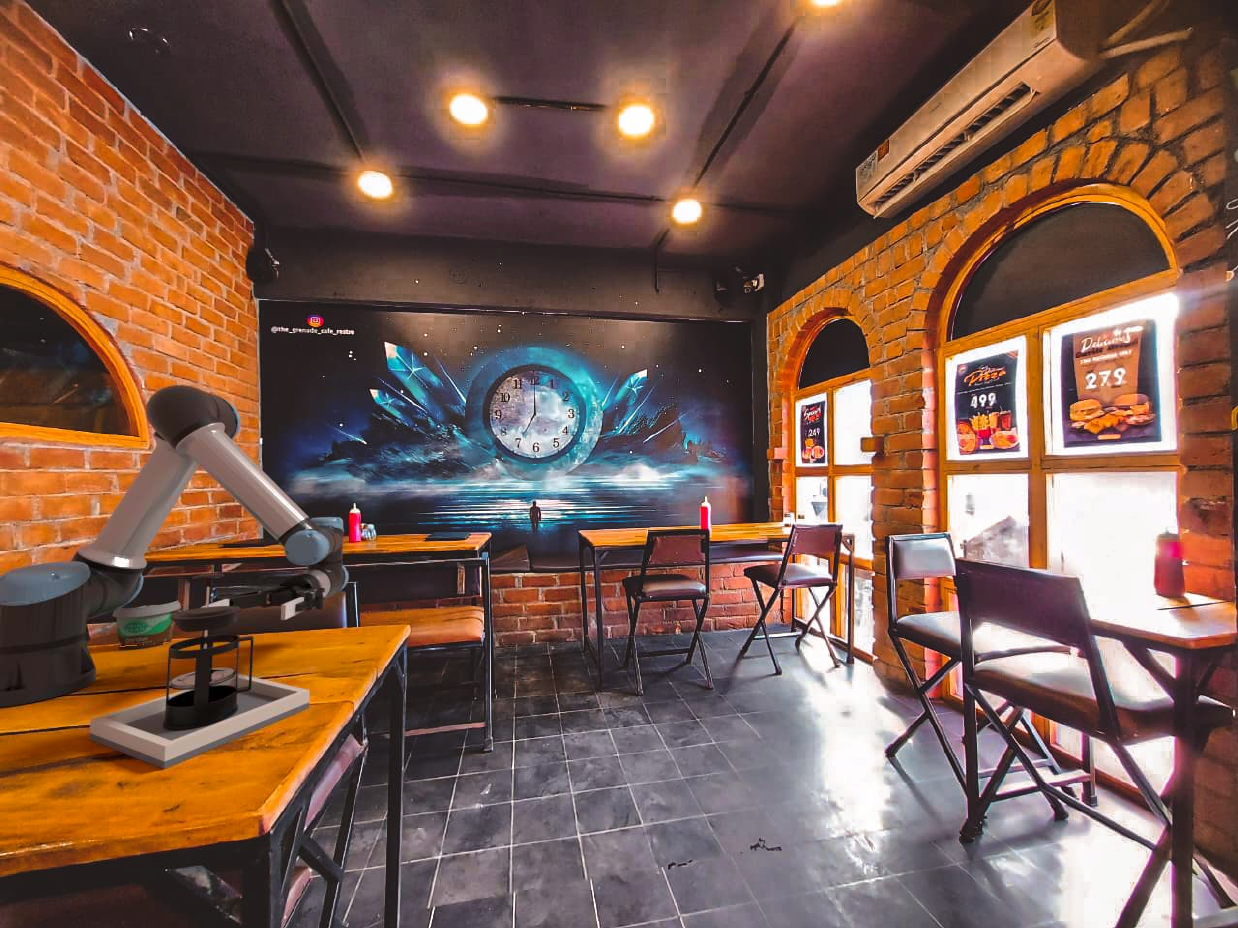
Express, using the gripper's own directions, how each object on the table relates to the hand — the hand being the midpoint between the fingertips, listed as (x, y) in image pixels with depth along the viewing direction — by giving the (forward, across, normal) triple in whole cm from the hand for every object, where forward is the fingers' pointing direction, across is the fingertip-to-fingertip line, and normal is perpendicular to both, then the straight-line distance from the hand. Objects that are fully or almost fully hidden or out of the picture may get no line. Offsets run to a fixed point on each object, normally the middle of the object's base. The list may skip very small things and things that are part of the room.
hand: (243, 613), depth 90 cm
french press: (+8, 0, -15) cm, 17 cm away
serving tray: (+8, 0, -16) cm, 18 cm away
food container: (-36, +43, -16) cm, 58 cm away
